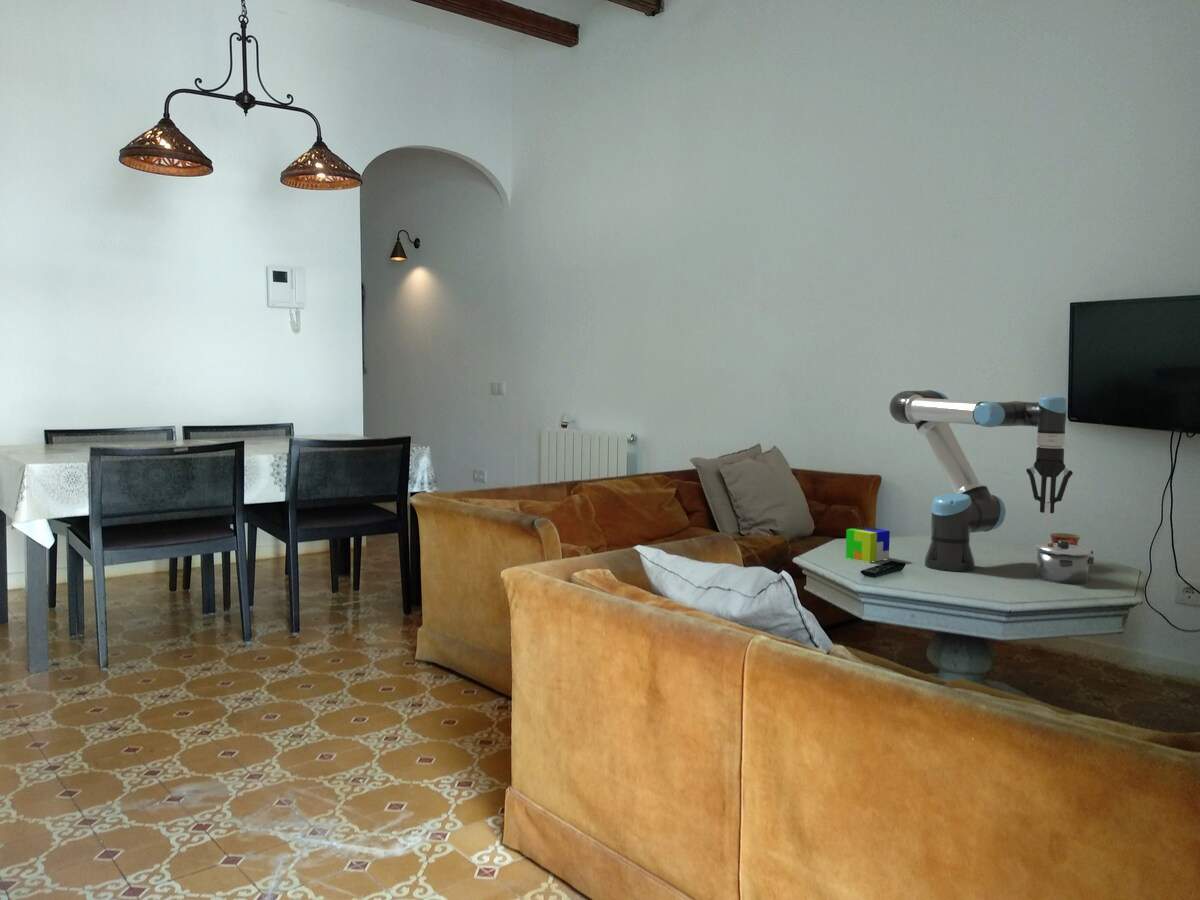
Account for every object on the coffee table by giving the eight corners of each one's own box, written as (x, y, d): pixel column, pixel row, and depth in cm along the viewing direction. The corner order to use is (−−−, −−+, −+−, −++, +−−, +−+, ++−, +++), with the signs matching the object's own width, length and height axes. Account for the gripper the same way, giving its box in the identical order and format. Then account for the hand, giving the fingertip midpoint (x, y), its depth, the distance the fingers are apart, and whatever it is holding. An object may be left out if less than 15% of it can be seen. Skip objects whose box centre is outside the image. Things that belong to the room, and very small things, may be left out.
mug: (1045, 563, 289) (1046, 532, 288) (1073, 564, 287) (1075, 533, 286) (1056, 570, 277) (1057, 539, 276) (1086, 571, 275) (1087, 539, 274)
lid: (1037, 552, 261) (1038, 543, 260) (1033, 544, 274) (1034, 534, 274) (1096, 557, 255) (1096, 547, 255) (1088, 548, 269) (1089, 539, 268)
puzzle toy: (888, 559, 294) (889, 530, 293) (869, 563, 289) (870, 533, 288) (864, 555, 302) (865, 526, 302) (845, 558, 297) (846, 529, 296)
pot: (1039, 583, 259) (1040, 557, 259) (1033, 570, 277) (1034, 545, 276) (1096, 587, 254) (1097, 560, 253) (1087, 574, 271) (1088, 549, 270)
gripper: (1027, 447, 263) (1023, 523, 265) (1076, 448, 258) (1071, 527, 260) (1025, 445, 270) (1021, 520, 272) (1073, 446, 265) (1068, 523, 267)
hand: (1046, 523), depth 266 cm, fingers closed
